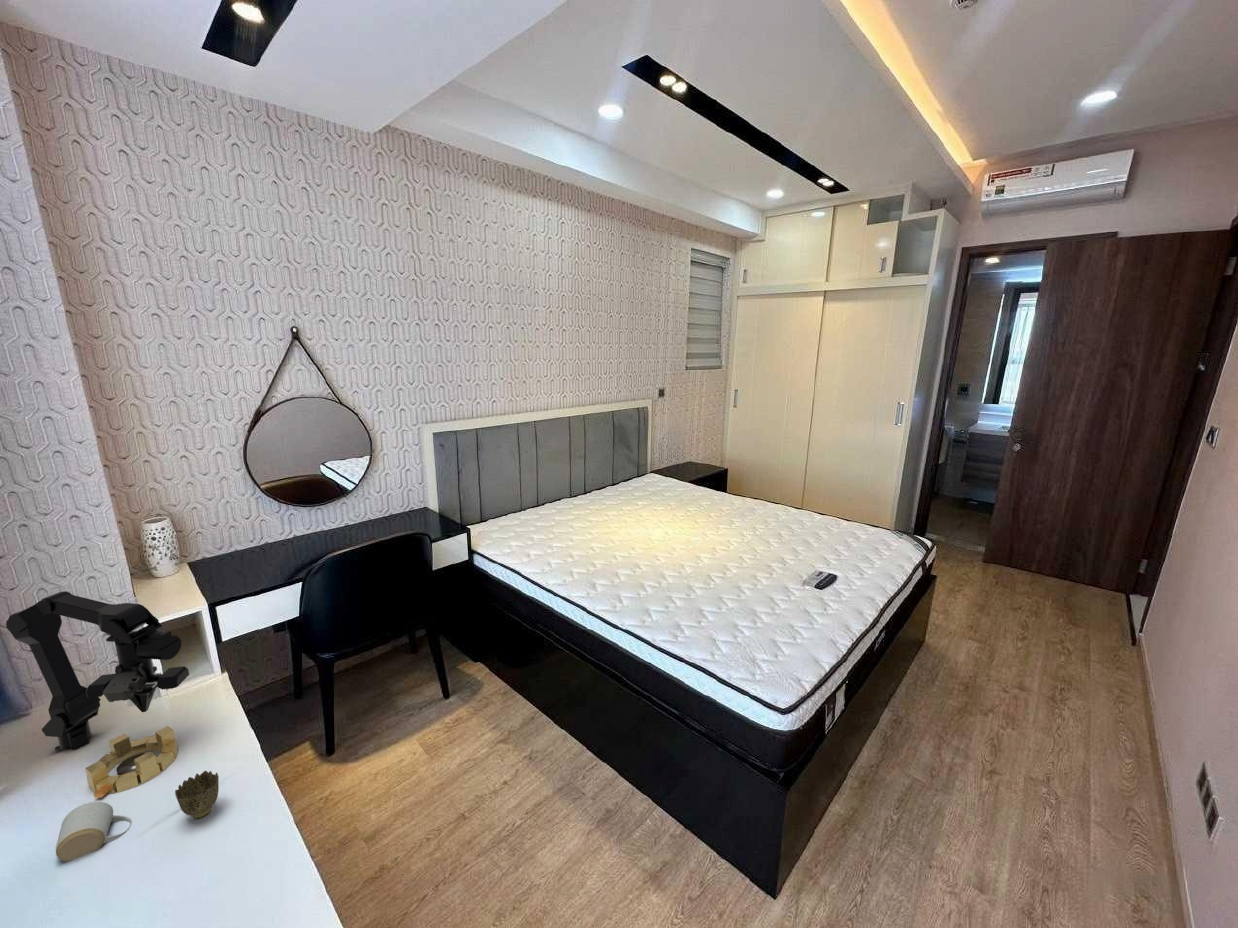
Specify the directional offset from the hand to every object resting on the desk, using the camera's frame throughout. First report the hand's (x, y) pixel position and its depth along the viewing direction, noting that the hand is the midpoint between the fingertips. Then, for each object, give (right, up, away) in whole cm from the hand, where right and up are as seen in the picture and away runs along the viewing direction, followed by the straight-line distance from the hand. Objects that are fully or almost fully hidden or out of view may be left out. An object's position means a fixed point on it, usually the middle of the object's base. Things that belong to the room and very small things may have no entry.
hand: (145, 711), depth 129 cm
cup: (+27, -16, -15) cm, 35 cm away
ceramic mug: (+10, -17, -22) cm, 30 cm away
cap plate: (+1, -13, -4) cm, 14 cm away
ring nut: (+1, -12, -4) cm, 13 cm away
